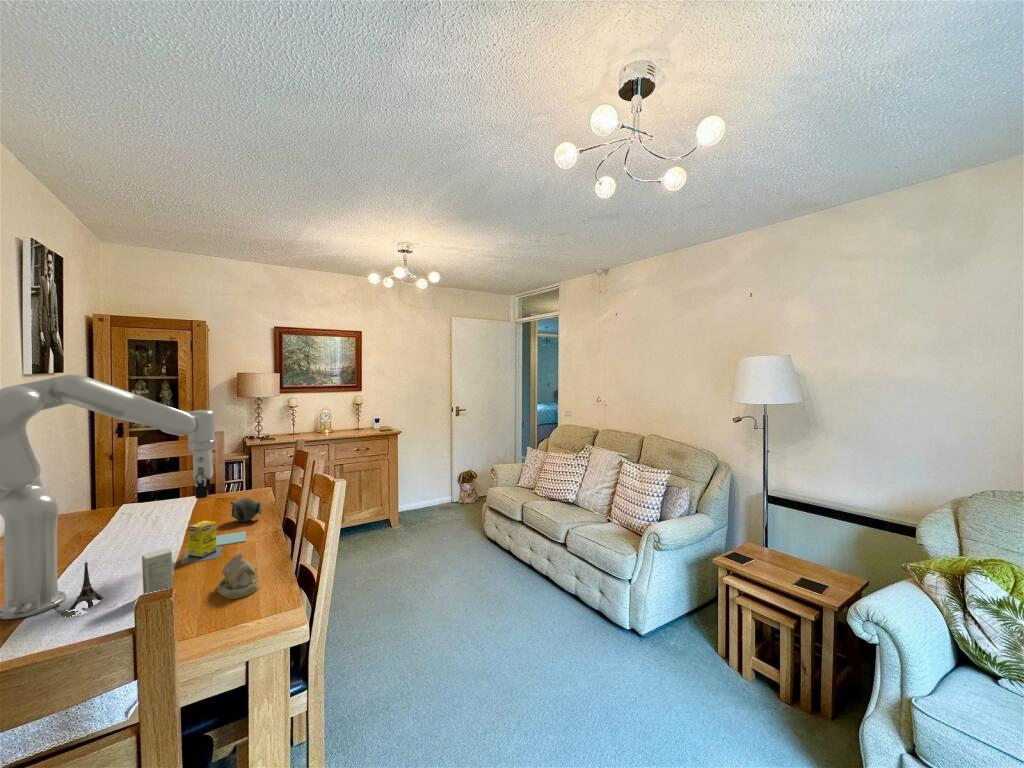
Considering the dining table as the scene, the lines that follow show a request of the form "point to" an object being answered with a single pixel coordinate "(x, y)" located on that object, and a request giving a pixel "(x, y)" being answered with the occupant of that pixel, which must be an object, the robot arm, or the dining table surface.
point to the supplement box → (201, 539)
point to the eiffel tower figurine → (81, 595)
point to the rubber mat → (230, 538)
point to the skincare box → (157, 571)
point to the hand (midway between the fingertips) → (203, 494)
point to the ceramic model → (238, 579)
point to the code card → (211, 556)
